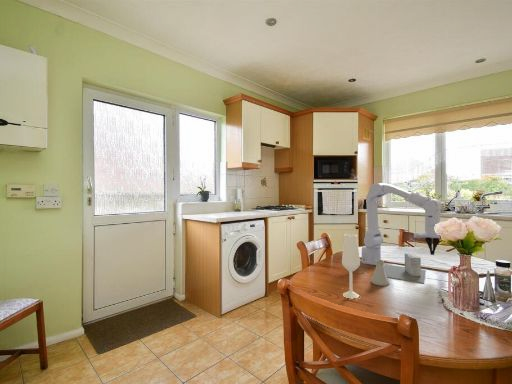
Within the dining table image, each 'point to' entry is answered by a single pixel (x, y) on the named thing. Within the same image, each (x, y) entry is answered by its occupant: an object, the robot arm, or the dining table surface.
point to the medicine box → (413, 264)
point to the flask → (379, 274)
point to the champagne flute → (350, 260)
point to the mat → (403, 274)
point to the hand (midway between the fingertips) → (432, 254)
